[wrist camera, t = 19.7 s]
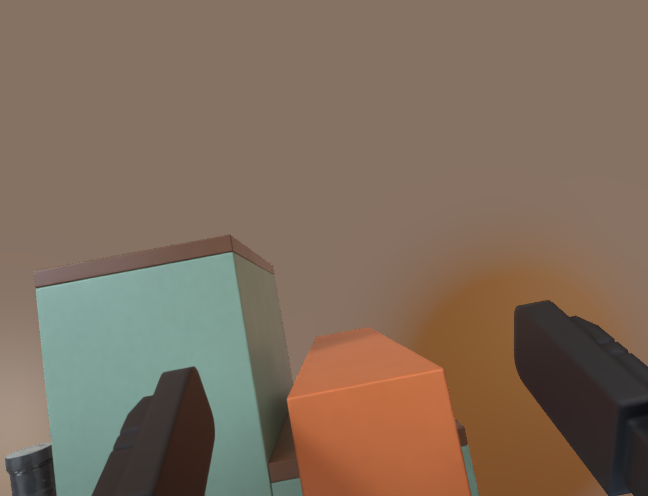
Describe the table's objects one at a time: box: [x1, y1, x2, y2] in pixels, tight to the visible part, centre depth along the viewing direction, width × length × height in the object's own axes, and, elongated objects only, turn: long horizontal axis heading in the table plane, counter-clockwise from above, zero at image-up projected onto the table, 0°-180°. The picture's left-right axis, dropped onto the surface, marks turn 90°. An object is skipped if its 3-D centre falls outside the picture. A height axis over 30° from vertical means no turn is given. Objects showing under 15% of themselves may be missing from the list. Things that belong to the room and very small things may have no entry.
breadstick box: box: [287, 327, 472, 496], centre depth 22 cm, size 22×4×4 cm, turn 179°
